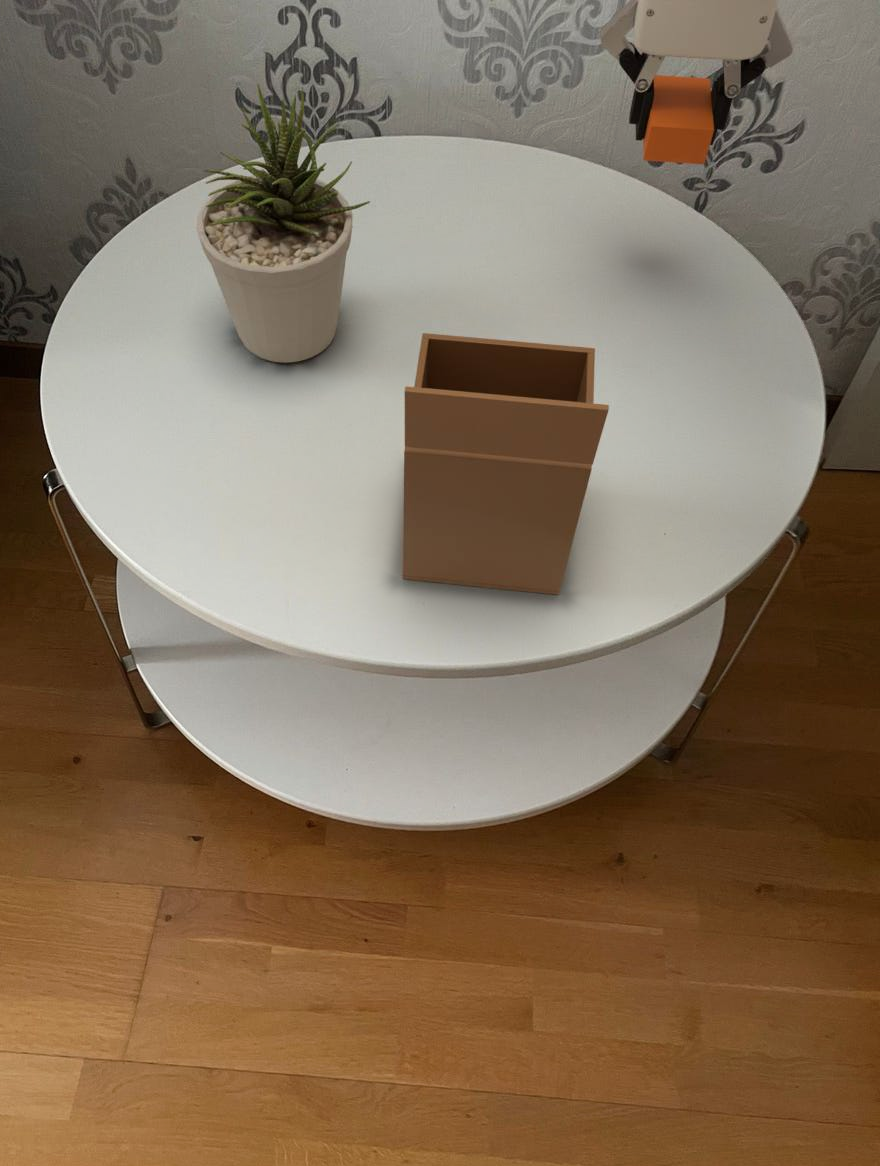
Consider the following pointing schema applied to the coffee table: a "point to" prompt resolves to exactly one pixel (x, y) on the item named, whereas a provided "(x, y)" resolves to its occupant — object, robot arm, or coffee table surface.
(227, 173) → the potted plant
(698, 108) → the block
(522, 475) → the carton
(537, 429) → the carton flap
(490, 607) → the coffee table surface
